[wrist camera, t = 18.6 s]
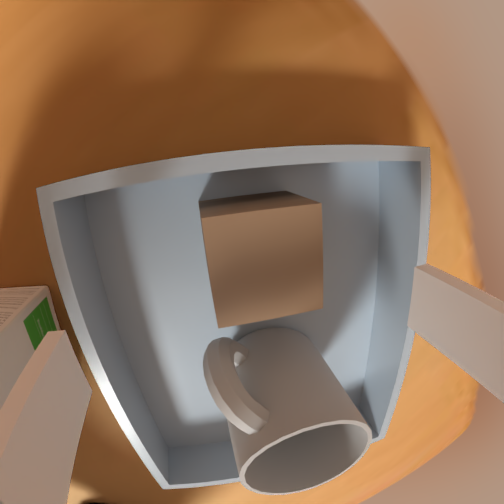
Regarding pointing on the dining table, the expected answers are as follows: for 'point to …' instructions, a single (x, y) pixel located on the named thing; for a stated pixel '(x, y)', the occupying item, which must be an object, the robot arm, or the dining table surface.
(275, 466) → the cup
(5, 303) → the skincare box
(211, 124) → the dining table surface
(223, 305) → the walnut cube
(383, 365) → the tote
